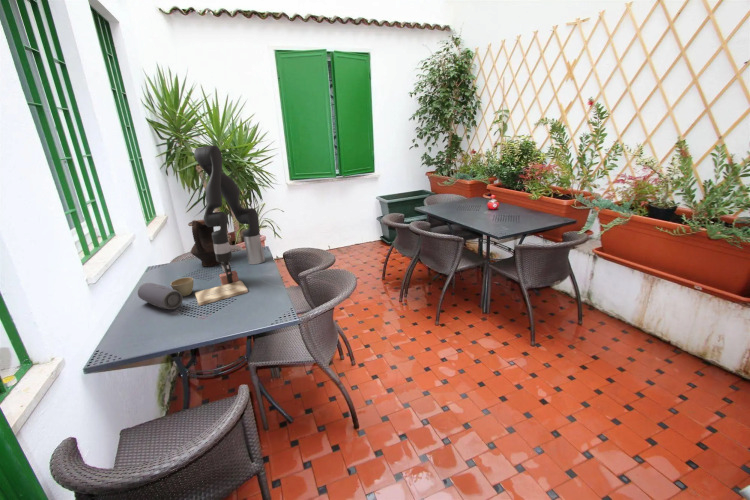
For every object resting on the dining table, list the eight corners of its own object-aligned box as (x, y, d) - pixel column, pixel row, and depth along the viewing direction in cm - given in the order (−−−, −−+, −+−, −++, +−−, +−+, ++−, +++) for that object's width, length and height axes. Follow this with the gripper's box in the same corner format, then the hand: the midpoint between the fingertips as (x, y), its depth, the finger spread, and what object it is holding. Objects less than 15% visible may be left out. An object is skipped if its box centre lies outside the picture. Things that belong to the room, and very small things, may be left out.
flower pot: (199, 293, 169) (196, 280, 167) (178, 300, 163) (174, 287, 160) (192, 288, 176) (188, 275, 174) (171, 295, 169) (167, 282, 167)
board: (241, 283, 178) (241, 280, 178) (248, 292, 167) (247, 289, 166) (195, 295, 167) (194, 292, 167) (199, 305, 156) (198, 302, 156)
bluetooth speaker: (186, 306, 157) (181, 286, 154) (166, 315, 149) (160, 294, 146) (159, 297, 168) (154, 278, 165) (139, 305, 161) (133, 286, 158)
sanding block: (237, 280, 182) (235, 270, 180) (239, 283, 178) (237, 272, 176) (221, 284, 178) (219, 274, 176) (223, 287, 174) (220, 276, 173)
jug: (201, 260, 218) (190, 214, 209) (230, 257, 220) (221, 211, 210) (187, 272, 199) (174, 222, 189) (220, 269, 200) (209, 219, 190)
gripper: (233, 252, 168) (239, 282, 173) (228, 246, 180) (233, 274, 185) (217, 256, 165) (223, 286, 170) (212, 249, 176) (219, 278, 181)
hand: (229, 280), depth 177 cm, fingers open, 8 cm apart
